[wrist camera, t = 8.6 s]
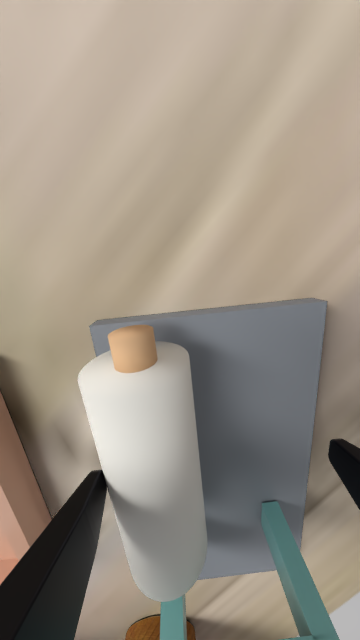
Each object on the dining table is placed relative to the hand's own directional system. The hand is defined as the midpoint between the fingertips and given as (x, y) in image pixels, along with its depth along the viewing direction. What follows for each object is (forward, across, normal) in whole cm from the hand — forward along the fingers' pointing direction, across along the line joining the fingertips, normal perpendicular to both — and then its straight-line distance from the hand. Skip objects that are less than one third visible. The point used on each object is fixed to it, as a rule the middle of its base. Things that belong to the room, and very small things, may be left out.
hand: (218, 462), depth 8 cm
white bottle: (0, +1, 0) cm, 1 cm away
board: (+4, 0, +5) cm, 6 cm away
